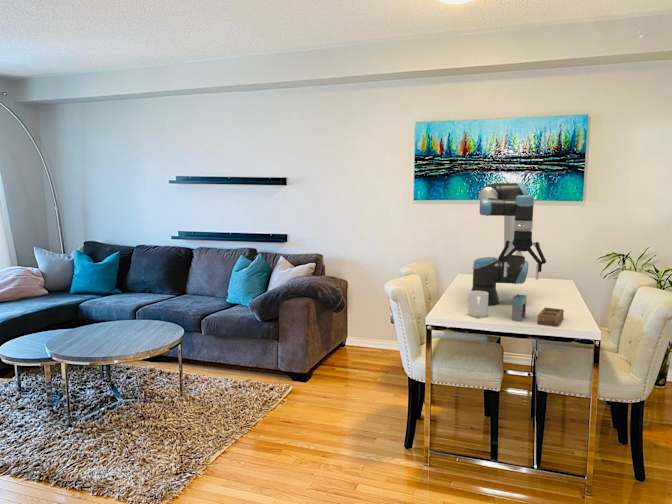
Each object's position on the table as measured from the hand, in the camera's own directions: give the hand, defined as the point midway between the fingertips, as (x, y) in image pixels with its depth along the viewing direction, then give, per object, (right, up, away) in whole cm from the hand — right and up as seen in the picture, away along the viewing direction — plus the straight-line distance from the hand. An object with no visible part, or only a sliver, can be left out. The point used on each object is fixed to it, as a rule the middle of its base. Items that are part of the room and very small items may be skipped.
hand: (520, 277), depth 231 cm
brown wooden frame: (+12, -19, -2) cm, 23 cm away
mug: (-17, -18, +6) cm, 26 cm away
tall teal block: (0, -18, +2) cm, 19 cm away
